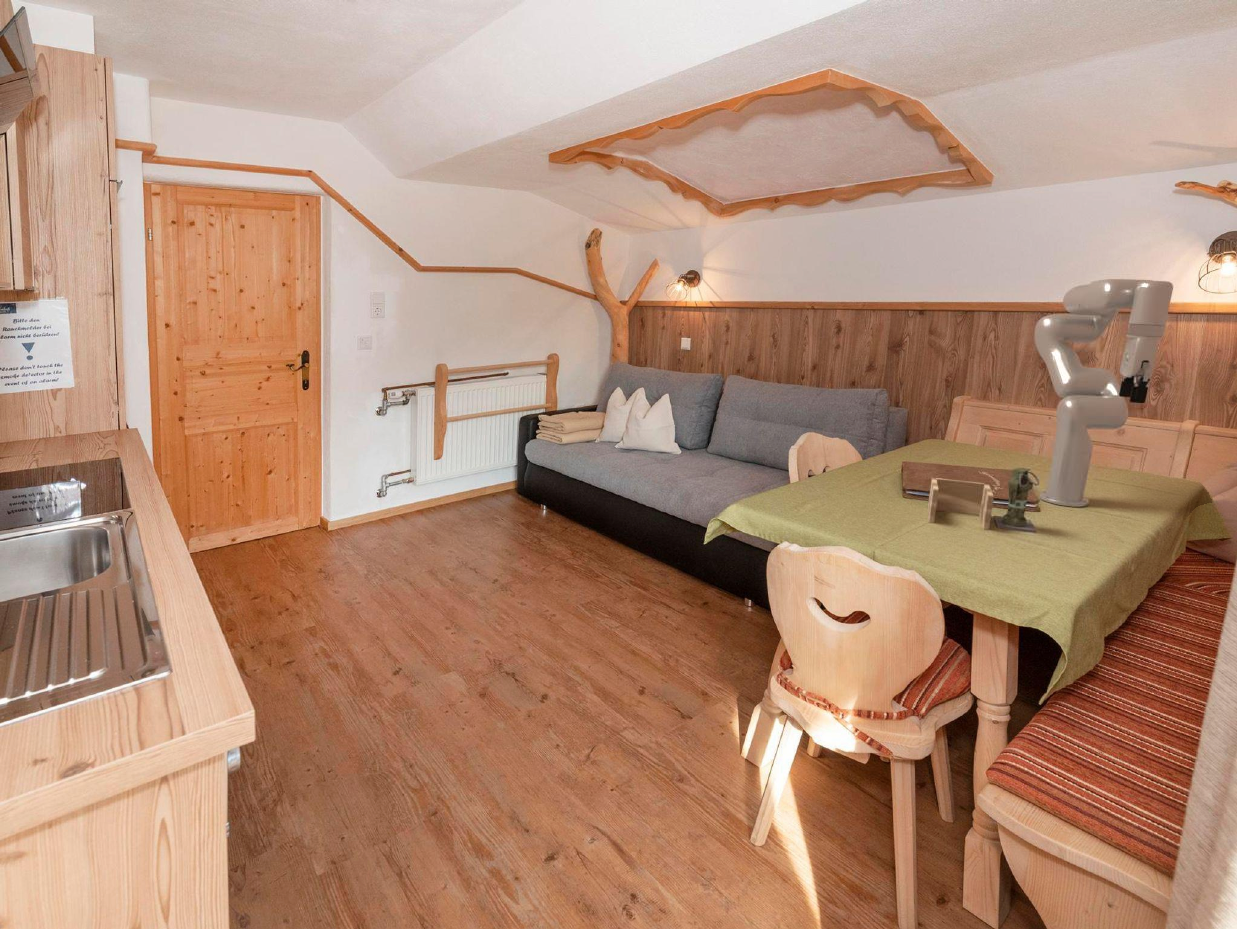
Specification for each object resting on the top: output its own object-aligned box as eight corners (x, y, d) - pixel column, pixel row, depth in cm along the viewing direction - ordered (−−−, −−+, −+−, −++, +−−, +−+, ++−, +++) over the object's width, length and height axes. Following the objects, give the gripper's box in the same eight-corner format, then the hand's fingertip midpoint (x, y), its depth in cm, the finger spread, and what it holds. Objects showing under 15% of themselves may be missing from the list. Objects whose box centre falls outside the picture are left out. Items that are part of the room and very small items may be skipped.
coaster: (993, 517, 200) (993, 515, 200) (1030, 522, 197) (1030, 520, 197) (997, 527, 192) (997, 525, 192) (1035, 532, 189) (1036, 530, 189)
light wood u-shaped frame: (927, 508, 207) (931, 477, 205) (983, 514, 202) (988, 483, 200) (929, 522, 195) (933, 489, 193) (988, 529, 190) (994, 496, 188)
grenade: (994, 522, 194) (1003, 468, 190) (1007, 518, 198) (1016, 465, 194) (1022, 530, 188) (1032, 474, 184) (1035, 526, 192) (1045, 471, 188)
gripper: (1118, 328, 191) (1105, 393, 195) (1137, 333, 175) (1123, 403, 180) (1152, 330, 188) (1138, 395, 193) (1175, 335, 173) (1159, 406, 177)
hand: (1131, 399), depth 186 cm, fingers open, 9 cm apart
